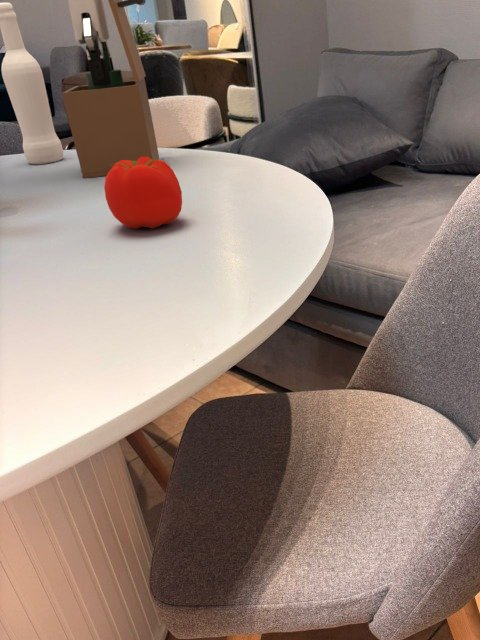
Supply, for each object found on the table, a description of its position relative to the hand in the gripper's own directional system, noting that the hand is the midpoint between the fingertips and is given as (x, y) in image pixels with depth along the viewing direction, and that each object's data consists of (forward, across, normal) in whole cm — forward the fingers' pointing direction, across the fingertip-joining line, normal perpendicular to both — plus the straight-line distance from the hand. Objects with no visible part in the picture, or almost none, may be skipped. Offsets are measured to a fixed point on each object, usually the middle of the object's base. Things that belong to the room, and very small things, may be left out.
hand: (105, 82), depth 120 cm
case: (+15, 0, 0) cm, 15 cm away
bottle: (+16, -18, -19) cm, 31 cm away
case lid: (-7, 0, +5) cm, 9 cm away
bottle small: (+8, 0, 0) cm, 8 cm away
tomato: (+16, +46, +9) cm, 49 cm away
